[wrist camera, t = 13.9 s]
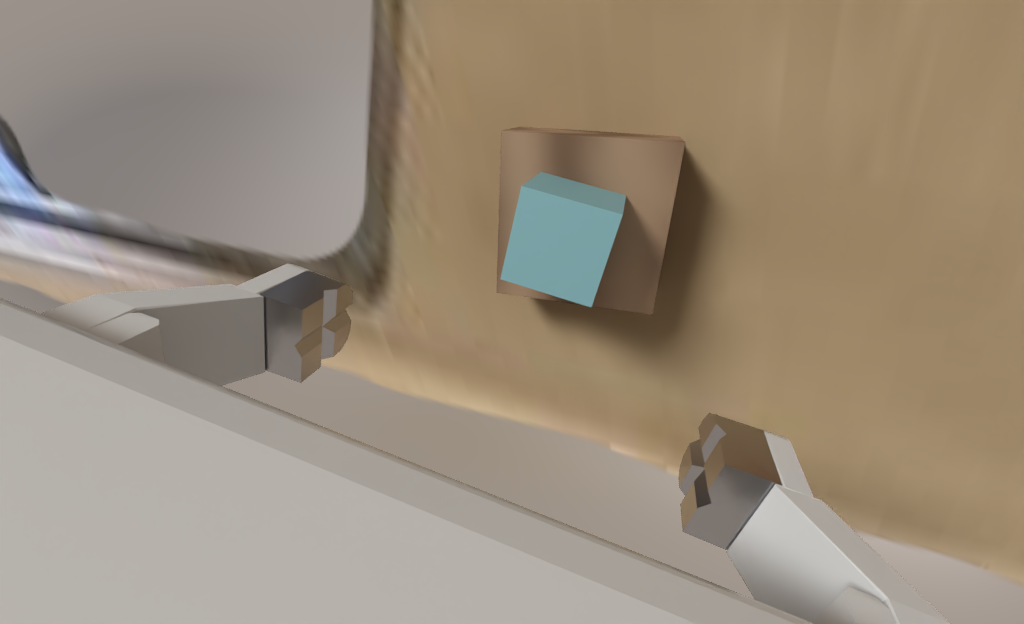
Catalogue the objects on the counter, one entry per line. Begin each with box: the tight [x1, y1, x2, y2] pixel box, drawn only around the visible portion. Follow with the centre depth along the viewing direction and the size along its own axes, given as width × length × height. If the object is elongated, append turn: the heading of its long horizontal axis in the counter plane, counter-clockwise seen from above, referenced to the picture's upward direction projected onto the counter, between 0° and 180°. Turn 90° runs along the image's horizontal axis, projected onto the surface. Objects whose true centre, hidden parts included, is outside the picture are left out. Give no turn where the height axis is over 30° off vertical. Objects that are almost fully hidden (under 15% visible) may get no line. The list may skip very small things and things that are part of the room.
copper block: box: [497, 127, 685, 315], centre depth 30 cm, size 10×10×5 cm
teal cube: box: [500, 172, 626, 307], centre depth 25 cm, size 5×5×5 cm
